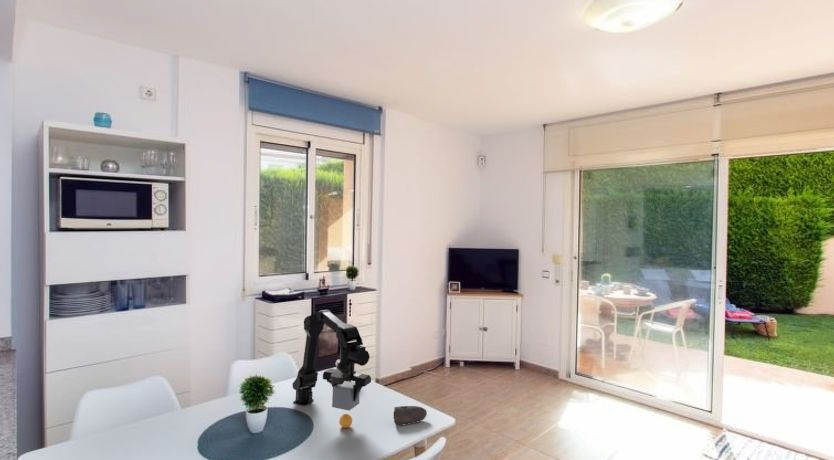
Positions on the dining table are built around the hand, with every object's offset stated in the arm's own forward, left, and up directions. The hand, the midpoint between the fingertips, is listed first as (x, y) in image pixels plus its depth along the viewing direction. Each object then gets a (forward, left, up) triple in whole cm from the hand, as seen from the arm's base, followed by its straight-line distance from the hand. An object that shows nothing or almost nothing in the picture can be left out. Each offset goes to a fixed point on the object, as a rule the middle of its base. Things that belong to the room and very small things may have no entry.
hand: (345, 399), depth 166 cm
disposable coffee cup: (-24, +39, -11) cm, 47 cm away
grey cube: (0, 0, -2) cm, 2 cm away
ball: (0, 0, -8) cm, 9 cm away
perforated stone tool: (+21, +15, -11) cm, 28 cm away
